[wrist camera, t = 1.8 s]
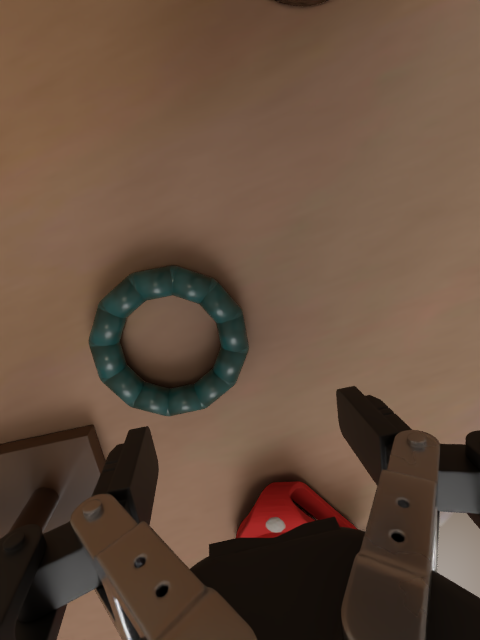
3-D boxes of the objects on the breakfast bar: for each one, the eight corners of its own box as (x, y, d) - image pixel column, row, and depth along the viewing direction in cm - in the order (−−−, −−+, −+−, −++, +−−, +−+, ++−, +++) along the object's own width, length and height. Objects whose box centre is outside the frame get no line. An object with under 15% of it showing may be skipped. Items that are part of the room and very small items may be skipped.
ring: (76, 282, 24) (65, 286, 22) (231, 253, 25) (233, 255, 23) (118, 418, 27) (112, 433, 25) (255, 389, 28) (259, 401, 26)
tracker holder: (244, 588, 31) (219, 529, 26) (247, 536, 35) (226, 476, 30) (383, 587, 29) (385, 523, 24) (370, 533, 33) (369, 468, 28)
